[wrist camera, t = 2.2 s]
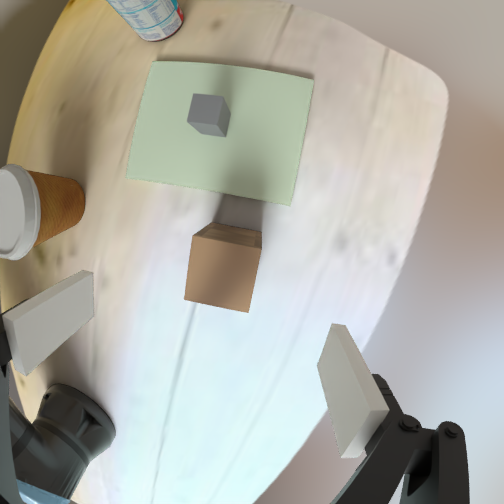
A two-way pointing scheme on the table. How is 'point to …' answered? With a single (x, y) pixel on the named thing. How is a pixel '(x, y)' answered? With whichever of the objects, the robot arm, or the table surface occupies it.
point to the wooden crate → (223, 266)
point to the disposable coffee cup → (35, 208)
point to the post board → (247, 137)
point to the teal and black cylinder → (150, 17)
